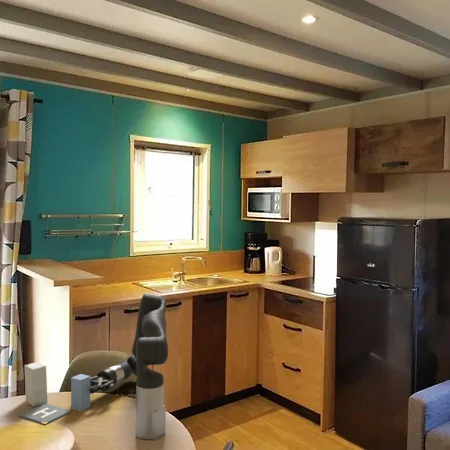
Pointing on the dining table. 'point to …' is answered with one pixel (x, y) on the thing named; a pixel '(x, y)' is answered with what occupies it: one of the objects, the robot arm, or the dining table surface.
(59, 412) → the letter mat
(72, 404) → the blue block
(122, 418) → the dining table surface
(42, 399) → the skincare box
